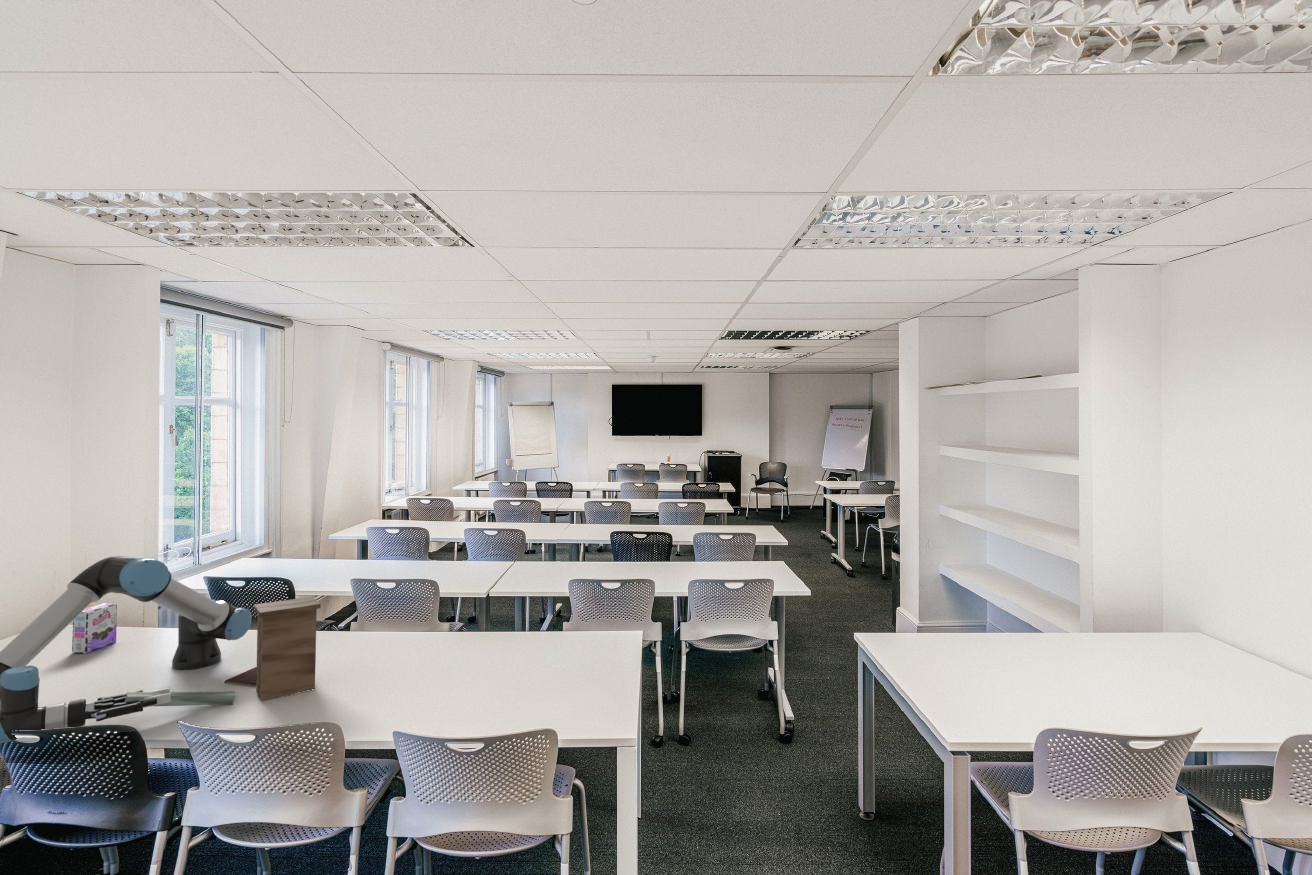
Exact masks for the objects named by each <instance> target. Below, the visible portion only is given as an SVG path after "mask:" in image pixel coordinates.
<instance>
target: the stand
mask: <svg viewBox="0 0 1312 875" xmlns="http://www.w3.org/2000/svg"><path fill="white" fill-rule="evenodd" d="M321 606H322V605H321V603H320V601H318V600H317V599H316V598H315V597H314V596H307V597H299V598H293V599H285V600H277V601H272V602H270V601H269V602H264V603H257V604H253V609H254V611H255V613H256V614H257V624H256V625H257V626H256V627H257V629H256V630H257V631H256V632H257V633H256V634H257V635H256V640H257V641H256V667H257V673H256V687H255V693H256V694H257V696H258V698H259V700H260V702H266V701H270V700H274V699H279V698H283V697H282V696H284V697H287V696H286V695H288V696H292V695H291V694H293V695H296V694H295V693H297V694H299V693H298V692H302V693H304V692H303V691H306V692H308V691H307V690H310V691H313V690H312V689H316V661H317V660H316V658H317V657H316V653H317V652H316V651H317V650H316V649H317V611H318V609H321V608H322V607H321Z"/></svg>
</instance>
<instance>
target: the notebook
mask: <svg viewBox="0 0 1312 875" xmlns="http://www.w3.org/2000/svg"><path fill="white" fill-rule="evenodd" d="M256 673H257V666H255V667H253V668H250V669H248V670H245V671H244V672H242V673H239V674H237V675H234V676H232V677H230V678H227V679H225V680H224V684H230V685H237V686H243V687H244V686H245V687H254V688H256Z"/></svg>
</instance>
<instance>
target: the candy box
mask: <svg viewBox="0 0 1312 875" xmlns="http://www.w3.org/2000/svg"><path fill="white" fill-rule="evenodd" d="M117 605H118V603H114V602H113V603H109V602H106V603H105V602H102V603H101V604H97V605H95V606H91V607H86V608H85V609H84V610H83V611H82V612H81V613H80V614H79V615H78V616H77V617H76V618H75V619H74V620H73V621H72V639H71V640H72V641H71V642H72V643H71V644H72V645H71V653H72V654H89V653H91V652H93V651H96V650H99V649H102V648H105V647H107V646H109V645H112V644H116V643H117V621H118V620H117V619H118V618H117V616H118V614H117V613H118V606H117Z"/></svg>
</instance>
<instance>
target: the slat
mask: <svg viewBox="0 0 1312 875" xmlns="http://www.w3.org/2000/svg"><path fill="white" fill-rule="evenodd" d="M126 693H127V694H126ZM126 693H125V694H126V697H125V701H124V702H130V701H136V700H144V698H146V697H151V696H156V695H161V694H166V693H171V702H169V703H164V704H159V705H154V706H153V707H179V706H181V707H183V706H184V707H185V706H186V707H187V706H189V707H190V706H229V705H230V706H231V705H232V706H233V705H234V702H235V700H236V693H235V690H234V691H233V690H228V691H227V690H226V691H224V690H222V691H221V690H219V691H217V690H215V691H213V690H212V691H210V690H209V691H170V692H150V691H143V692H137V691H126Z"/></svg>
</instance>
